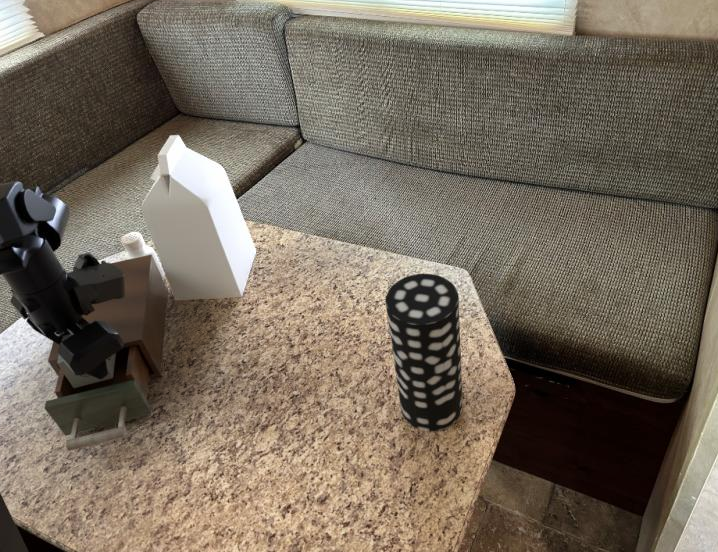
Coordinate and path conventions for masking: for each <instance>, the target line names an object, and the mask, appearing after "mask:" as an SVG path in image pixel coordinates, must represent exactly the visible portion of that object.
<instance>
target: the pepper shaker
mask: <svg viewBox="0 0 718 552" xmlns="http://www.w3.org/2000/svg"><path fill="white" fill-rule="evenodd" d="M120 241H121V244H122V246H123V247H124V250H125V251H126V253H125V254H124V256H123V260H128V259H133V258H137V257H142V256H147V255H152V256H153V258H154V261H155V263H156V265H157V267H158V269H159V271H160V274H161V276H162V278H163V279H164V277H166V275H165V272H164V269H163V267H162V264H161V262H160V259H159V257H158V255H157V253H156V250H154V248H152V247H151V246H149V245H147V244H146V242H145V240H144V238H143V236H142V234H141V233H140V232H139V231H131V232H128V233H126V234H125V235H123V236H122V237H121V240H120Z"/></svg>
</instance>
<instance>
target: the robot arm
mask: <svg viewBox="0 0 718 552" xmlns="http://www.w3.org/2000/svg"><path fill="white" fill-rule="evenodd" d="M23 185H24V184H23V183H22V182H20V181H19V180H16V181H10V182H5V183H0V276H2V277H3V279H4V281H6V283H7V284H8V286H9V287H10V290H9V291H10V292H11V294H12V295H11V298H10V300H9V302H10V304H11V305H12V307H13V308H14V309H15V311H16V312H17V313H18V315H20V317H21V318H23V320H26V323H27V324H28V325H29V326H30V327H31V328H32V329H33V331H35V332H37V333H38V334H40V335H42V336H43V337H45V338H46V339H49V340H50V341H52V343H53V342H55V343H57V344H58V345H60V346H59V348H58V350H57V353H58V354H59V356H60V357H61V359H62V360H63V362H64V363H65V364H66V365H67V366H68V367H69V368H70V370H71V371H72V372H73V373H74V374H75V375H76V376H78V375H84V374H85V373H86V374H89V375H91V376H93V377H95V378H98V379H100V380H101V379H103V378H104V377H106V376H107V375H108V371H107V364H106V359H108V358H109V357H111V356H112V355H114V354H115V353H117V352H118V351H120V350H121V349H122V348H123V346H124V342H123V341H122V339H121V337H120V335H119V333H117V332H116V331H115V330H114V329H113V328H112V327H111V326H110V325H109V324H108V323H107V322H105V321H94V322H92V323H91V324H90V323H89V322H88V321H87V320H86V319H84V318H83V317H82V315H85V316H87V315H88V314H90V313H92V312H93V311H95V309H94V308H93V306H92V304H98V303H102V302H105V301H109V300H112V299H121V298H123V297H124V296H125V278H124V273H123V272H122V271H121V270H119V269H118V268H117V267H116V266H114V265H113V264H111V263H112V262H107V261H106V260H101V261H100V262H99V260H98V258H97V257H95V256H94V255H93V254H92V253H91V252H86V253H82V254H79V255H78V257H77V258H76V260H75V263H74V265H73V267H72V271H70V272H67V270H66V269H65V268H64V267H63V266H62V264H61V262H60V260H59V258H58V257H57V256H56V254H55V252H56V251H57V250H58V249H59V248H60V247H61V245H62V242H63V239H64V235H65V233H66V229H67V227H68V223H69V220H70V217H71V215H70V213H71V212H70V209H69V206H68V205H67V204H66V202H65V203H64V202H63V201H62V200H61V199H59V198H57V197H56V196H54V195H51V194H46V193H42V191H41V189H40V187H39V186H33V187H28V188H24V187H23ZM77 324H78V325H79V326H80V327H81V328H82V329H81V328H80V327H79V326H78V325H77ZM69 334H71V335H72V336H70V337H68V338H67V339H65V340H64V341H62V338H63V336H65V335H69ZM24 541H25V540H24V539H23V537H22V535H21V533H20V531H19V529H18V526H17V524H16V522H15V520H14V518H13V516H12V513H11V512H10V510H9V508H8V506H7V504H6V502H5V500H4V497H3V495H2V493H1V492H0V552H29V549H28V548H27V545H26V543H25V542H24Z"/></svg>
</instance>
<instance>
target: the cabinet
mask: <svg viewBox="0 0 718 552" xmlns="http://www.w3.org/2000/svg"><path fill="white" fill-rule="evenodd" d="M110 263H111V264H113V265H114V266H116V267H117V268H118V269H119V270H121V271H122V272H123V273H124V278H125V296H124V297H123V298H121V299H112V300H109V301H105V302H102V303H98V304H92V306H93V308H94V309H95V311H93V312H92V313H90V314H88V315H87V316H85V315H82V317H83V318H84V319H86V320H87V321H88V322H89V323H90V324H91V323H92V322H94V321H105V322H107V323H108V324H109V325H110V326H111V327H112V328H113V329H114V330H115V331H116V332H117V333H119V335H120V337H121V339H122V341H123V342H124V346H123V348H125V347H129V346H133V345H139V347H140V349H141V351H142V352H143V354H144V356H145V358H146V360H147V362H148V364H149V365H150V372H149V380H151V379H156V378H159V377H162V371H163V361H164V360H163V359H164V348H165V347H164V346H165V336H166V335H165V333H166V321H167V320H166V319H167V308H168V295H169V289H168V287H167V285H166V283H165V281H164V277H163V278H162V276H161V274H160V271H159V269H158V267H157V265H156V263H155V261H154V258H153V256H152V255H147V256H142V257H137V258H133V259H128V260H125V259H123V260H119V261H115V262H110ZM77 325H78V324H77ZM78 326H79V325H78ZM79 327H80V326H79ZM80 328H81V327H80ZM81 329H82V328H81ZM59 346H60V345H58V344H57V343H55V342H53V341H52V344H51V348H50V352H49V356H48V359H47V362H48V364H49V365H50V367H51V368H52V370H53V371H54V373H55V374H56V375H57V377H58V376H59V371H60V367H59V366H58V364H57V361H58V356H59V354H58V353H57V350H58V348H59Z"/></svg>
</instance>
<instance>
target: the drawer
mask: <svg viewBox="0 0 718 552" xmlns="http://www.w3.org/2000/svg"><path fill="white" fill-rule="evenodd" d="M149 372H150V365H149V364H148V362H147V360H146V358H145V356H144V354H143V352H142V351H141V349H140V347H139V345H133V346H129V347H125V348H122V349H121V350H120V351H118V352H117V353H116V357H115V365H114V373H113V378H111V379H107V380H103V381H100V382H96V383H92V384H88V385H84V386H80V387H77V388H73V386H72V385H71V383H70V382H69V380H68V379H67V377H66V376H65V375H64V373H63V372H62V370H61V369H60V371H59V376H58V375H57V381H56V383H55V388H54V394H55V396H56V397H57V398H53V399H49V400H48V399H47V400H46V401H45V403H44V407H43V408H44V410H45V411H46V413H47V414H48V415H49V416H50V417H51V419H52V420H53V422H54V423H55V424H56V426H58V428H59V429H60V430H61V432H62V434H63V435H64V436H65V437H67V436H70V438H69V439H67V440H66V441H65V448H66V451H67V452H71V451H76V450H79V449H83V448H87V447H91V446H94V445H99V444H103V443H106V442H111V441H114V440H120V439H124V438H126V437H127V428H126V424H125V423H126V421H127V422H128V421H131V420H134V419H135V420H136V419H139V418H142V417H143V418H144V417H147V416H151V415H152V411H153V407H152V406H151V403H150V402H149V401H148V393H149V392H148V391H149V381H150V379H149ZM115 424H118V427H115V428H111V429H106V430H102V431H98V432H94V433H90V434H86V435H83V436H78V434H79V433H83V432H87V431H91V430H95V429H99V428H104V427H107V426H111V425H115Z"/></svg>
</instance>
